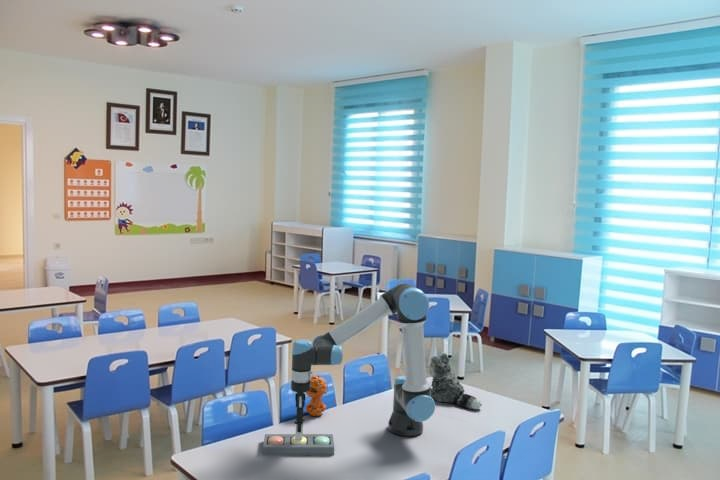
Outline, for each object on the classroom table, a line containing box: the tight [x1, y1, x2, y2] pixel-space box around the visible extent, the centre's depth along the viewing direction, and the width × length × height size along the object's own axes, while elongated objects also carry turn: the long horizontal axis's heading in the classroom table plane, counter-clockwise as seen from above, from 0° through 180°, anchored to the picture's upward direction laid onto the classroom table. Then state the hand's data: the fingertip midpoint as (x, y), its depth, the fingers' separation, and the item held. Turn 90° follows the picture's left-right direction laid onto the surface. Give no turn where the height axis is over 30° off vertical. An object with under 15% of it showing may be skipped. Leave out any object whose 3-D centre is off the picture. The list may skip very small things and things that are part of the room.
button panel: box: [262, 433, 335, 456], centre depth 230 cm, size 12×27×3 cm, turn 96°
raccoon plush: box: [428, 353, 483, 410], centre depth 292 cm, size 15×32×21 cm, turn 58°
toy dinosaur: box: [305, 374, 329, 417], centre depth 265 cm, size 11×11×18 cm
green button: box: [314, 436, 330, 444], centre depth 231 cm, size 6×6×3 cm
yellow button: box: [291, 436, 307, 444], centre depth 230 cm, size 6×6×3 cm
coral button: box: [268, 436, 284, 444], centre depth 229 cm, size 6×6×3 cm
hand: (298, 438), depth 230 cm, fingers closed
